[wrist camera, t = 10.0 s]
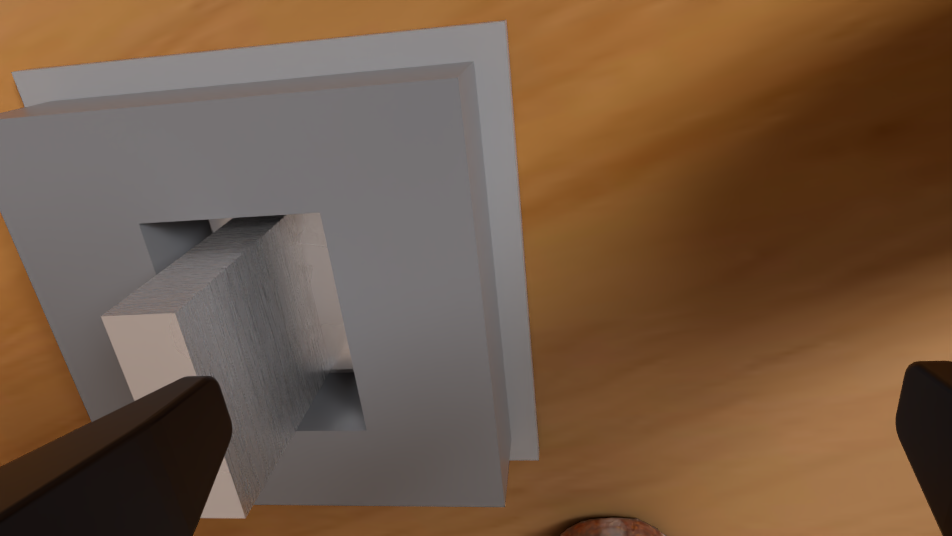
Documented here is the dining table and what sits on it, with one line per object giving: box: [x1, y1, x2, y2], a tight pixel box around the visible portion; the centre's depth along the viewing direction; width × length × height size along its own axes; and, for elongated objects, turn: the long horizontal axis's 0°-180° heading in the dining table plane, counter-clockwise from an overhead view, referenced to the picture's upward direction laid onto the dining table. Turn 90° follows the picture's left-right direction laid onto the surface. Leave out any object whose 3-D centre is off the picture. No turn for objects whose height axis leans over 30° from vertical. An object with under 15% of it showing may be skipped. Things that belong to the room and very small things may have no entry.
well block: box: [0, 20, 539, 507], centre depth 21 cm, size 16×16×4 cm
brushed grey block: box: [101, 213, 353, 518], centre depth 19 cm, size 4×6×8 cm, turn 6°
